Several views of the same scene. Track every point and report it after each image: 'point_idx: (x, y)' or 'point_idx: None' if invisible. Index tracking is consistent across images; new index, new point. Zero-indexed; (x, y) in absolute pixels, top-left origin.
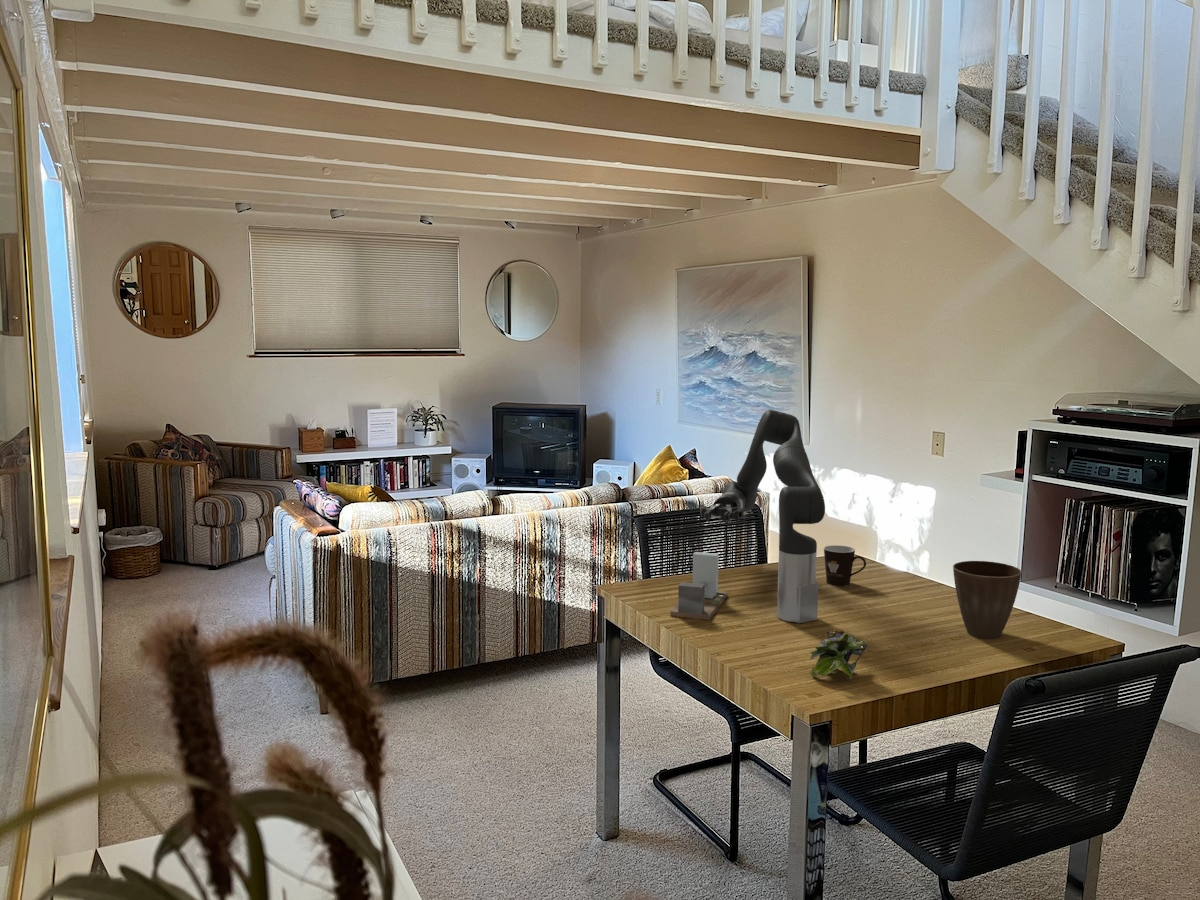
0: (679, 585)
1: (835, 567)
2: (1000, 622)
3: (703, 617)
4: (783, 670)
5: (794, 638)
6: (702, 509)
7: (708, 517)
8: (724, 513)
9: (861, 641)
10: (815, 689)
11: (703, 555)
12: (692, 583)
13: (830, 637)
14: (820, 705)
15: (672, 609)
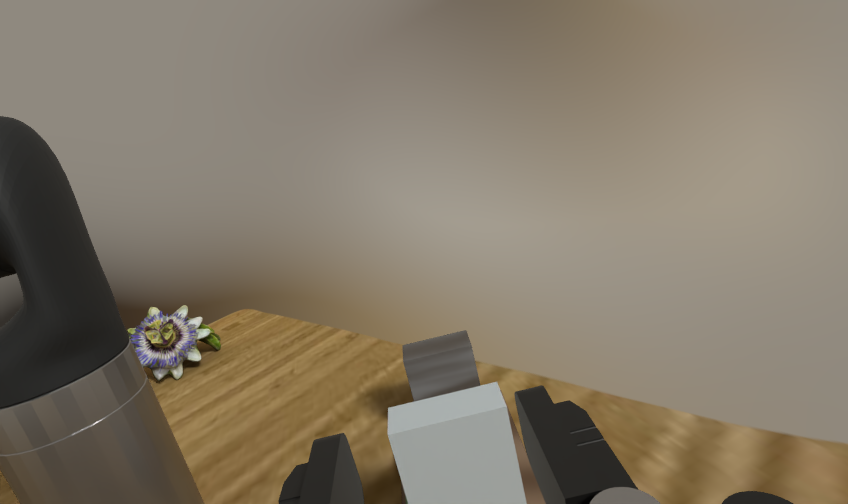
0: (463, 331)
1: None
2: None
3: None
4: (256, 345)
5: (207, 434)
6: (747, 495)
7: (523, 432)
8: (338, 447)
9: (131, 328)
10: (225, 333)
11: (449, 396)
12: (438, 351)
13: (174, 314)
14: (230, 317)
15: (504, 400)
